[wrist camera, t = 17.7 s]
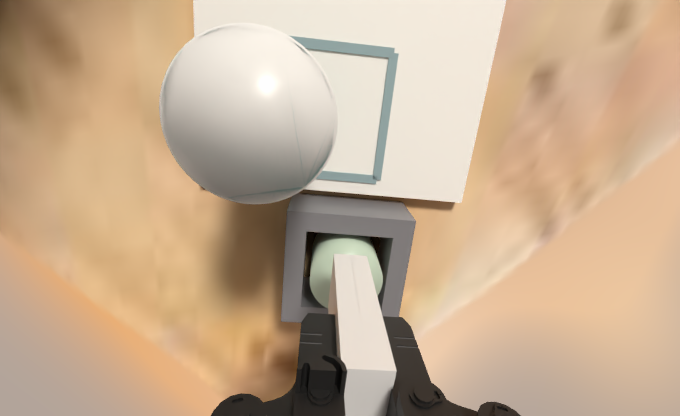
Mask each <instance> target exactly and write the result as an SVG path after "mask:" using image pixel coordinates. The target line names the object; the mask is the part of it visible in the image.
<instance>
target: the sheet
mask: <svg viewBox="0 0 680 416" xmlns="http://www.w3.org/2000/svg"><path fill="white" fill-rule="evenodd" d="M505 4H506V0H193V7H194V37H195V36H197V35H199V34H200V33H202V32H204V31H206V30H208V29H211V28H214V27H216V26H220V25H224V24H229V23H254V24H259V25H264V26H268V27H271V28H273V29H276V30H278V31H281V32H283V33H284V34H286V35H288V36H290V37H292V38H293V39H294V40H296V41H297V42H299V43H300V44H301V45H303V46H304V47H305V48H306V49H307V50H308V51H309V52H310V53H311V54H312V55H313V57H314V58H315V59H316V60H317V61H318V63H319V64H320V65H321V67H322V69H323V70H324V72H325V73H326V75H327V77H328V80H329V82H330V84H331V86H332V89H333V92H334V96H335V99H336V105H337V112H338V129H337V136H336V141H335V145H334V148H333V151H332V154H331V156H330V158H329V160H328V162H327V164H326V166H325V167H324V169H323V170H322V172H321V173H320V174H319V175H318V177H317V178H316V179H315V180H314V181H313V182H312V183H311V184H310V185H308V186H307V187H306V188H305V189H306V190H318V191H330V192H341V193H353V194H365V195H376V196H388V197H400V198H411V199H423V200H435V201H446V202H458V203H461V202H462V198H463V193H464V189H465V184H466V180H467V175H468V171H469V166H470V162H471V157H472V153H473V148H474V144H475V139H476V135H477V130H478V126H479V121H480V117H481V112H482V108H483V103H484V99H485V94H486V90H487V85H488V81H489V76H490V72H491V67H492V63H493V58H494V54H495V49H496V45H497V40H498V36H499V31H500V27H501V22H502V18H503V13H504V9H505Z"/></svg>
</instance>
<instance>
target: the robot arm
mask: <svg viewBox="0 0 680 416" xmlns="http://www.w3.org/2000/svg"><path fill="white" fill-rule="evenodd" d="M211 416H520V415H519V414H518V413H517V412H516V411H515V410H513V409H511V408H510V407H508V406H506V405H504V404H501V403H497V402H486V403H484V404H482V405H481V406H480V408H479V410H478V412H477V411H474V410H471V409H467V408H464V407H461V406H458V405H456V404H454V403H451V402H450V401H448V400H446V398H445V396H444V394H443V393H442V391H441V390H440V389H439V388H438V387H437V386H435V385H434V384H432V383H431V381H430V378H429V375H428V373H427V370H426V367H425V364H424V362H423V359H422V356H421V353H420V351H419V349H418V345H417V342H416V340H415V337H414V334H413V331H412V329H411V326H410V325H409V324H408V323H407V322H406V321H405V320H404V319H403V318H402V317H387V316H382V312H381V309H380V305H379V301H378V297H377V293H376V289H375V285H374V281H373V278H372V274H371V270H370V266H369V262H368V258H367V256H361V255H347V254H334V257H333V266H332V275H331V284H330V293H329V302H328V314H319V313H308V314H307V315H306V316H305V318H304V319H303V321H302V323H301V334H300V345H299V357H298V368H297V376H296V382H295V384H294V386H293V388H292V389H291V390H290V391H289V392H288V393H287V394H285V395H284V396H282V397H280V398H278V399H275V400H272V401H268V402H264V403H263V402H262V401H261V400H260V399H259V398H258V397H255V396H253V395H251V394H237V395H233V396H230V397H229V398H227V399H225V400H224V401H222V402H221V403H220V404H219V405H218V406H217V407H216V409H215V410H214V411H213V413H212V415H211Z"/></svg>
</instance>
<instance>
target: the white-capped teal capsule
mask: <svg viewBox="0 0 680 416" xmlns="http://www.w3.org/2000/svg"><path fill="white" fill-rule="evenodd" d="M159 110H160V121H161V126H162V130H163V134H164V137H165V139H166V142H167V145H168V147H169V149H170V151H171V153H172V155H173V156H174V158H175V159H176V161H177V162H178V164H179V165H180V166H181V168H182V169H183V170H184V171H185V172H186V174H187V175H188V176H190V177H191V178H192V179H193V180H194V181H195V182H196V183H197V184H199V185H200V186H201V187H203V188H204V189H206V190H208V191H209V192H211V193H213V194H215V195H217V196H219V197H221V198H224V199H227V200H230V201H233V202H238V203H244V204H268V203H273V202H278V201H281V200H284V199H287V198H289V197H291V196H293V195H295V194H297V193H299V192H300V191H302V190H303V189H305V188H306V187H307V186H308V185H310V184H311V183H312V182H313V181H314V180H315V179H316V178H317V177H318V175H319V174H320V173H321V172H322V170H323V169H324V167H325V166H326V164H327V162H328V160H329V158H330V156H331V154H332V151H333V148H334V145H335V141H336V136H337V129H338V112H337V105H336V99H335V96H334V92H333V89H332V86H331V84H330V82H329V80H328V77H327V75H326V73H325V72H324V70H323V69H322V67H321V65H320V64H319V63H318V61H317V60H316V59H315V58H314V57H313V55H312V54H311V53H310V52H309V51H308V50H307V49H306V48H305V47H304V46H303V45H301V44H300V43H299V42H297V41H296V40H294V39H293V38H292V37H290V36H288V35H286V34H284V33H283V32H281V31H278V30H276V29H273V28H271V27H268V26H264V25H259V24H254V23H229V24H224V25H220V26H216V27H214V28H211V29H208V30H206V31H204V32H202V33H200V34H199V35H197V36H195V37H194V38H193V39H191V40H190V41H189V42H188V43H186V44H185V45H184V46H183V48H182V49H181V50H180V51H179V52H178V53H177V54H176V56H175V57H174V59H173V60H172V62H171V63H170V65H169V67H168V69H167V71H166V74H165V77H164V80H163V83H162V87H161V93H160V104H159Z"/></svg>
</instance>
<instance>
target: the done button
mask: <svg viewBox="0 0 680 416" xmlns="http://www.w3.org/2000/svg"><path fill="white" fill-rule="evenodd" d="M334 254H347V255H361V256H367V258H368V262H369V266H370V270H371V274H372V278H373V281H374V285H375V289H376V293H377V296H378V295H379V293H380V291H381V288H382V284H383V275H382V271H381V268H380V264H379V261H378V258H377V255H376V252H375V249H374V245H373V242H372V239H371V237H370V236H360V235H347V234H334V233H321V232H319V233H318V234H317V236H316V237H315V240H314V242H313V247H312V259H311V271H310V288H311V291H312V293H313V295H314V297H315V298H316V300H317V301H318V302H319V303H320V304H321V305H323V306H324V307H326V308H328V302H329V293H330V284H331V275H332V266H333V257H334Z"/></svg>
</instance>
